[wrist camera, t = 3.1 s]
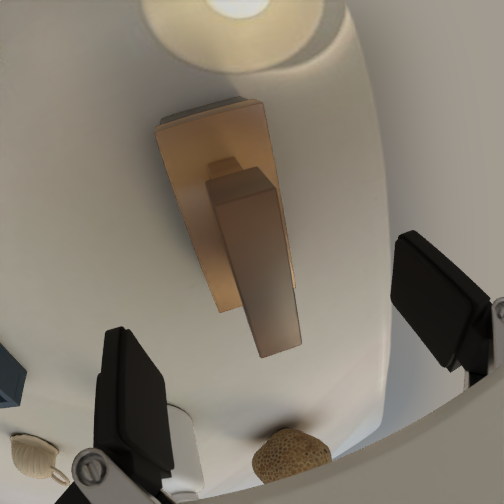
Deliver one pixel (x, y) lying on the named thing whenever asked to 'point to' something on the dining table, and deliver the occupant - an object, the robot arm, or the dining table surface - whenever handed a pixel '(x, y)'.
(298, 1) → the dining table surface
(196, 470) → the eye dropper bottle
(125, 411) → the robot arm
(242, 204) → the brush
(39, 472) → the decorative ornament
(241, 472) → the dining table surface
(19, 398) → the tray
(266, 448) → the natural sponge
